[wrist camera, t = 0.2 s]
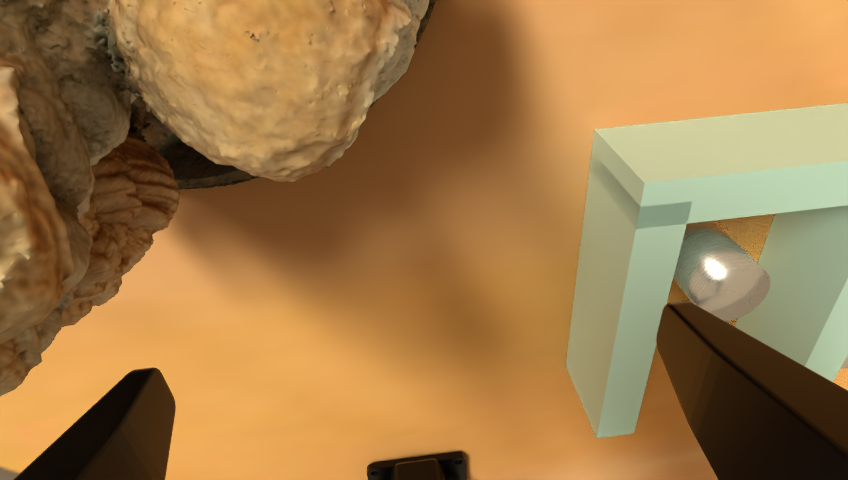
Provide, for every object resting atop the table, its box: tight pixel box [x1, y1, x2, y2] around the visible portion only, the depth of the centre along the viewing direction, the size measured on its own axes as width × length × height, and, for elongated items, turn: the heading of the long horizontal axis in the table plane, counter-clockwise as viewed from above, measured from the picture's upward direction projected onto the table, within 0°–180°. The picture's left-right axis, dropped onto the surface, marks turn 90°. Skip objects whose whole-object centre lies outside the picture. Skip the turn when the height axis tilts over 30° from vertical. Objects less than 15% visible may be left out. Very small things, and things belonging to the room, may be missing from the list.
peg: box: [673, 221, 770, 321], centre depth 25 cm, size 3×3×6 cm
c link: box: [566, 103, 848, 438], centre depth 26 cm, size 15×12×5 cm
